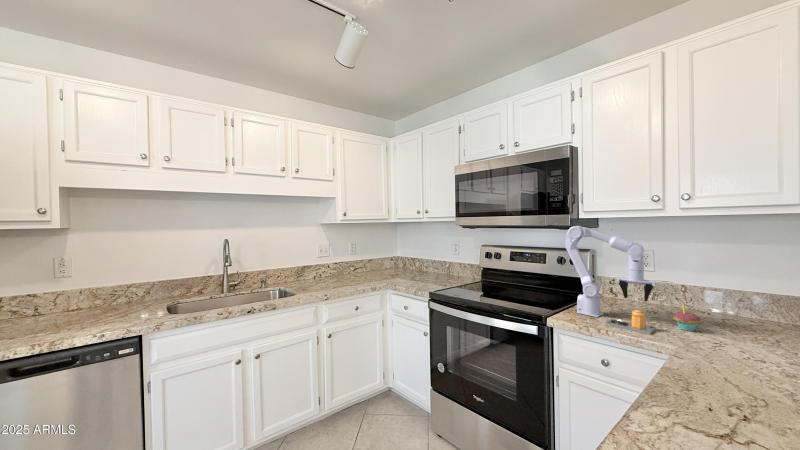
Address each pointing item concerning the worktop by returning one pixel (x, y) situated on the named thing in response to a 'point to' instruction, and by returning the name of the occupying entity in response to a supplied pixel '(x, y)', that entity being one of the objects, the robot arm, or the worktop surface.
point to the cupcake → (686, 320)
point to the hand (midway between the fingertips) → (635, 299)
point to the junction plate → (630, 326)
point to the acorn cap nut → (639, 319)
